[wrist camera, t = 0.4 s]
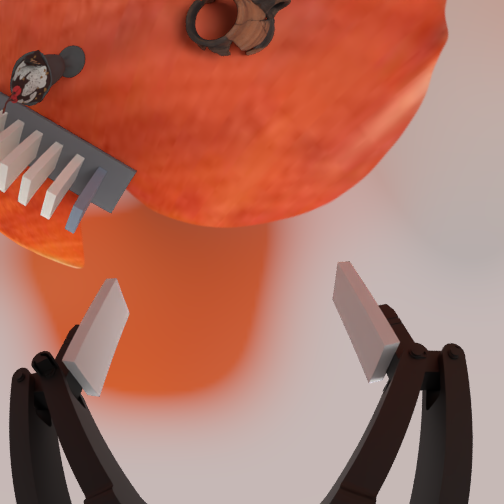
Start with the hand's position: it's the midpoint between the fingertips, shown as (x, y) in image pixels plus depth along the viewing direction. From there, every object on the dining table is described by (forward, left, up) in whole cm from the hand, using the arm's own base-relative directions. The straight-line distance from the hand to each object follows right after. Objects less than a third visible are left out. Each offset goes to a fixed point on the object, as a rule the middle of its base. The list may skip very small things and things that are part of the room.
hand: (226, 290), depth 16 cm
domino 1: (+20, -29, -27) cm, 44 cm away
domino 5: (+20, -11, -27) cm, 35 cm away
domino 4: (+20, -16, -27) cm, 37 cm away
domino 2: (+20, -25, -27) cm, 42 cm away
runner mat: (+20, -22, -28) cm, 40 cm away
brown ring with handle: (-12, -8, -28) cm, 32 cm away
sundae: (+5, -25, -28) cm, 37 cm away
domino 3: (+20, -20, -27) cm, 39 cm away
